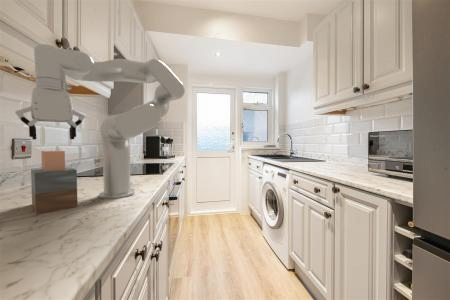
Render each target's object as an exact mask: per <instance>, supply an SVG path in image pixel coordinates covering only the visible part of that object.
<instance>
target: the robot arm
mask: <svg viewBox="0 0 450 300" xmlns="http://www.w3.org/2000/svg"><path fill="white" fill-rule="evenodd" d="M33 53H34V74H35V87H33V88H32V91H31V101H30V106H27V107H24V108H22V109H18V110H16V111H15V114H16V116H17V117H18V119H19V120H20V122H22V123H23V124H25V125H26V126H28V131H29V132H28V133H29V134H28V135H29V137H30V138H32V140H37V127H36V126H35V125H36V123H38V122H49V123H50V122H51V123H67V124H68V125H69V126H70V127H69V140H75V138H76V137H77V128H78V126H80V125H81V124H82V123H83V121H84V119H85V116H86V115H84V114H82V113H80V112H78V111H76V110H74V109H73V106H72V100H71V96H70V92H69V91H68V90H72V85H69V84H67V80H66V79H67V77H68V78H69V79H71V80H75V81H84V82H85V81H86V82H99V83H100V82H102V83H103V82H113V83H114V82H125V83H138V84H153V83H156V82H158V83H159V85H157V87H156V89H155V91H154V98H153V99H152V100H151V101H147V102H146V103H144V104H139V105H136V106H134V107H133V108H131V109H130V110H127V111H125V112H123V113H119V114H113V115H110V116H107V117H106V118H105V119H104V120H102V123H101V124H100V136H101V141H102V142H101V144H102V168H103V170H102V173H103V176H102V179H103V181H102V182H103V191H101V192H99V193H98V197H99V198H101V199H118V198H119V199H120V198H121V199H122V198H126V197H129V196H133V195H134V194H135V189H132V188H131V185H132V182H133V181H131V159H130V158H131V150H130V149H131V148H130V142H129V140H130V139H134V138H135V137H138V136H140V135H142V134H144V133H146V132H148V131H149V130H151V129H154V128H156V127H157V126H158V125H159V124H160V122H161V120H162V119H161V118H163V117H165V116H166V115H167V114H168V112H169V108H170V102H172V101H177V100H180V99H182V98H183V96H184V95H185V92H186V91H185V86H184V84H183V82H182V81H181V80H180V78H178V76H176V74H175V73H174V72H173V71H172V70H171V69H170V68H169V67H168V66H167V65H166V64H165V63H164V62H163V61H161V60H159V59H158V58H151V59H149V60H148V61H145V62H144V61H136V60H131V59H130V60H129V59H124V58H114V59H113V58H112V59H110V60H105V61H94V60H93V58H92V56H90V55H89V54H88V53H86V52H84V51H80V50H74V49H66V48H65V49H64V48H59V47H57V46H54V45H50V44H46V43H45V44H44V43H39V44H36V45H35V46H34V49H33ZM30 112H31V113H30ZM27 113H30V114H31V120H29V119H27V117H25V115H24V114H27ZM73 115H74V116H75V117H77V119H76V121H73V119H74V118H73Z"/></svg>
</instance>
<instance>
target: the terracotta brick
mask: <svg viewBox="0 0 450 300" xmlns="http://www.w3.org/2000/svg"><path fill="white" fill-rule="evenodd" d="M65 167H66V154H65V150H41V168H42V169H43V170H44V171H55V170H65Z"/></svg>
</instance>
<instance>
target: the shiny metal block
mask: <svg viewBox="0 0 450 300" xmlns="http://www.w3.org/2000/svg"><path fill="white" fill-rule="evenodd" d="M77 170H78V169H75V168H73V167H71V166H66V165H65V170H55V171H44V170H43V169H42V167H40V168H39V167H38V168H31V169H30V177H31V178H30V179H31V181H30V182H31V205H32V207H33V211H34V213H35V215H40V214H45V213H51V212H57V211H61V210H66V209H73V208H78V207H79V206H78V179H77V178H78V173H77V172H78V171H77Z"/></svg>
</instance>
